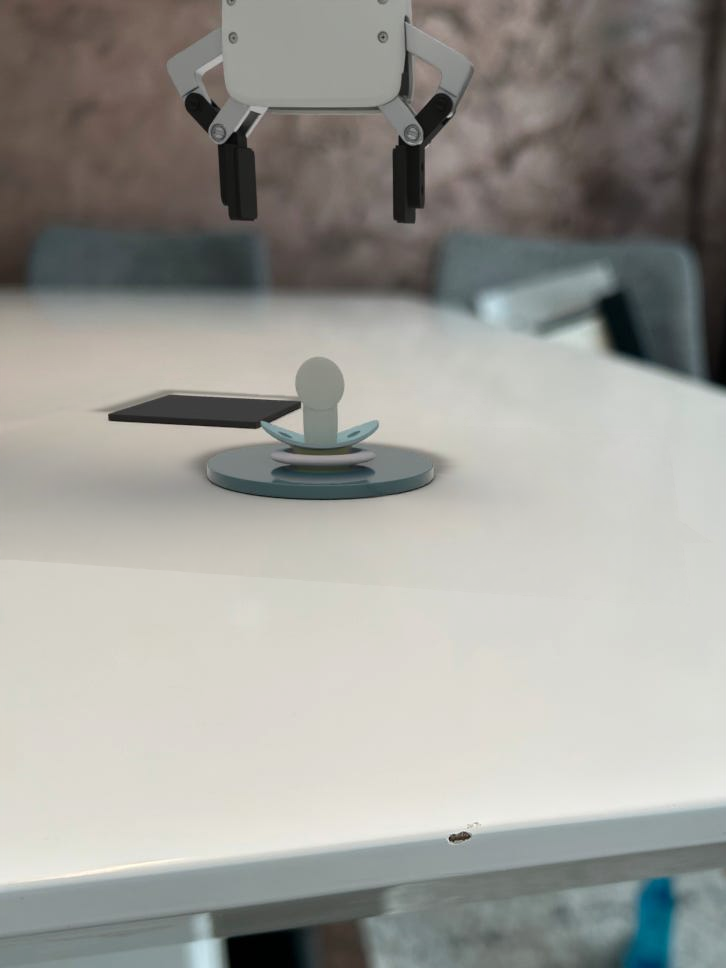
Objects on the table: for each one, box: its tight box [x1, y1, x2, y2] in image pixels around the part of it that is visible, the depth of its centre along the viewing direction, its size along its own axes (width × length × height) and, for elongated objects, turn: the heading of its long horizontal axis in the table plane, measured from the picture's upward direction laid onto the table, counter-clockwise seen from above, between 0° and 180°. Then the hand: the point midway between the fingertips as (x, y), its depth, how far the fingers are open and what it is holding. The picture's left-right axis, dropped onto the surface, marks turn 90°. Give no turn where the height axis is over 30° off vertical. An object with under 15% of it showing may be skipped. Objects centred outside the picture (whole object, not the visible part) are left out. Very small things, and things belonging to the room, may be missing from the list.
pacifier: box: [260, 356, 380, 466], centre depth 68 cm, size 7×6×6 cm
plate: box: [206, 442, 435, 500], centre depth 69 cm, size 14×14×1 cm
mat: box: [107, 394, 302, 429], centre depth 91 cm, size 12×12×1 cm
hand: (323, 221), depth 64 cm, fingers open, 9 cm apart
